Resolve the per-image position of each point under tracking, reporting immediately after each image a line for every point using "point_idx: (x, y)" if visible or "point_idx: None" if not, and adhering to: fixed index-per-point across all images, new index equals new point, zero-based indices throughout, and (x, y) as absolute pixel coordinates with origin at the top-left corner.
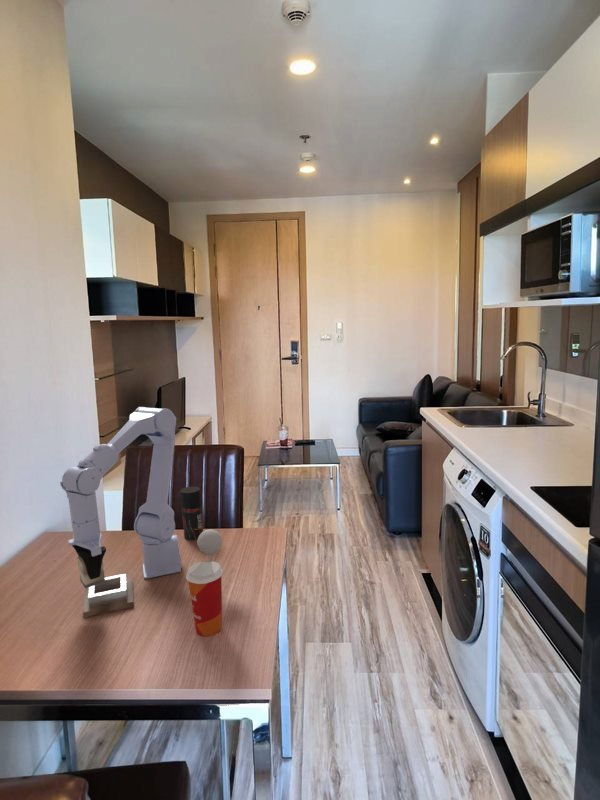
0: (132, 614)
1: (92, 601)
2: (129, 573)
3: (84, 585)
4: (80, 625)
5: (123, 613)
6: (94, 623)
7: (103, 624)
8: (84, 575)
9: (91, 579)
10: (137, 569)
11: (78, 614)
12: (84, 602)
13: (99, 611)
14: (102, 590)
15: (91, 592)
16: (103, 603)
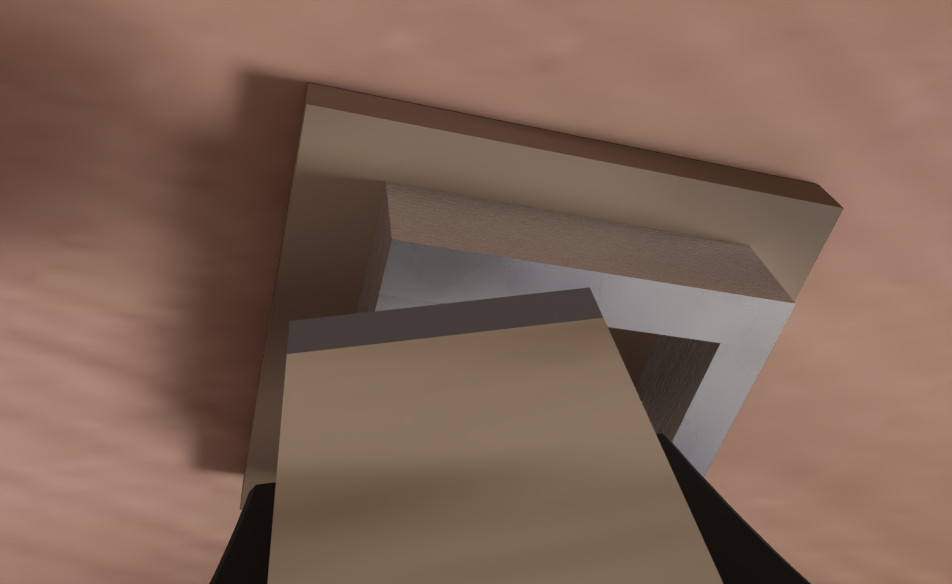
0: (111, 451)
1: (379, 246)
2: (814, 511)
3: (324, 338)
4: (150, 27)
5: (170, 398)
6: (117, 161)
7: (51, 231)
8: (282, 486)
9: (253, 494)
10: (823, 560)
11: (410, 45)
12: (528, 152)
13: (282, 245)
14: (640, 332)
15: (498, 285)
16: (355, 311)
